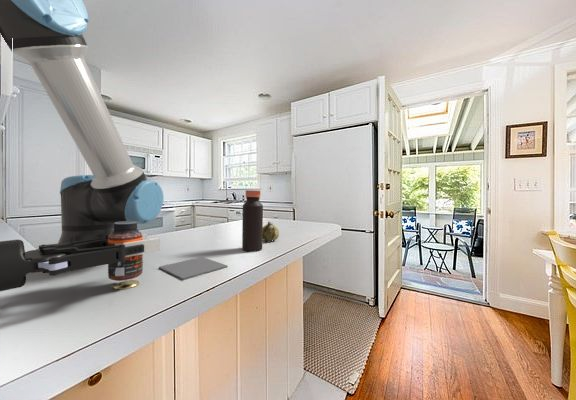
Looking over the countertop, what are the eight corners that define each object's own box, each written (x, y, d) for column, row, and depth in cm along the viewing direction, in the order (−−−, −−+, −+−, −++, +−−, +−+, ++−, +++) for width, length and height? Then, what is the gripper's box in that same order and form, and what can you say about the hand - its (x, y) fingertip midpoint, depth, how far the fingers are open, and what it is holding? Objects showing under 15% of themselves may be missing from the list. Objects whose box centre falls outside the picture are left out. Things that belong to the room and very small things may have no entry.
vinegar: (238, 249, 81) (238, 190, 80) (253, 245, 86) (253, 190, 85) (251, 253, 76) (252, 190, 76) (266, 249, 82) (267, 190, 81)
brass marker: (110, 285, 49) (110, 284, 49) (134, 279, 53) (134, 278, 53) (117, 291, 47) (117, 290, 47) (142, 284, 50) (142, 283, 50)
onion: (283, 240, 96) (284, 221, 95) (269, 244, 90) (269, 222, 89) (270, 238, 101) (270, 219, 100) (255, 240, 95) (256, 220, 94)
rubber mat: (159, 268, 60) (159, 266, 60) (202, 258, 70) (202, 256, 70) (182, 280, 53) (182, 278, 53) (227, 267, 62) (227, 265, 62)
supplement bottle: (125, 283, 46) (124, 225, 45) (100, 280, 47) (99, 223, 47) (149, 272, 52) (148, 220, 51) (126, 270, 53) (125, 219, 52)
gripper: (-13, 277, 41) (136, 250, 59) (-15, 315, 30) (172, 268, 48) (-16, 234, 41) (136, 220, 59) (-19, 255, 29) (172, 230, 47)
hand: (152, 242), depth 53 cm, fingers closed on supplement bottle, 6 cm apart
